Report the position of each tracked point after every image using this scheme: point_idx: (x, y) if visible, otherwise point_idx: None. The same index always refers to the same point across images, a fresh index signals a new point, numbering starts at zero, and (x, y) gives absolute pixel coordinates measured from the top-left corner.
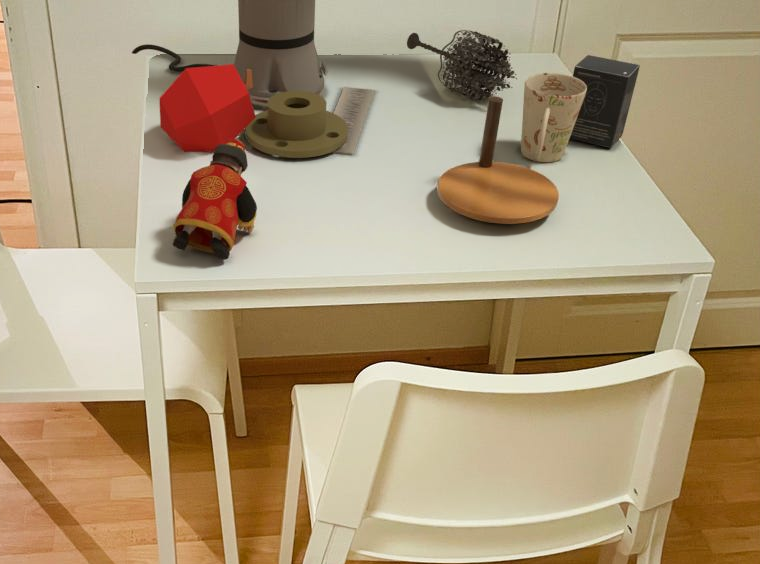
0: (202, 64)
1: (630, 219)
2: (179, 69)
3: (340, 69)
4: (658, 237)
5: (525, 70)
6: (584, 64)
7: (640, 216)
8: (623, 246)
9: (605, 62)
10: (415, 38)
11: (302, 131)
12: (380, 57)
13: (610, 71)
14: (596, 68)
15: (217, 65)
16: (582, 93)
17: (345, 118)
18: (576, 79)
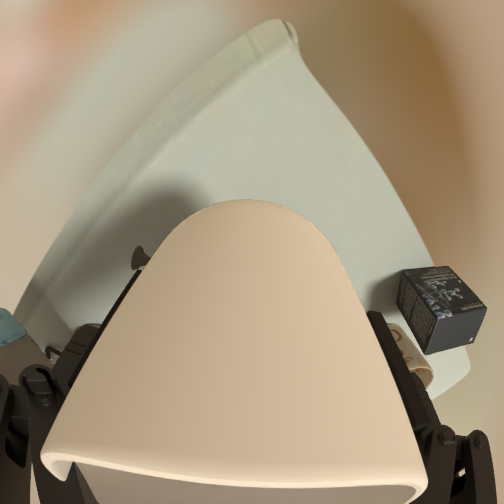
0: (49, 350)
1: (444, 367)
2: (49, 359)
3: (101, 288)
4: (456, 371)
5: (289, 133)
6: (434, 348)
7: (450, 361)
8: (437, 388)
9: (456, 329)
10: (140, 264)
11: None
12: (100, 229)
13: (458, 345)
14: (445, 348)
15: (59, 355)
16: (428, 385)
17: None
18: (424, 367)
